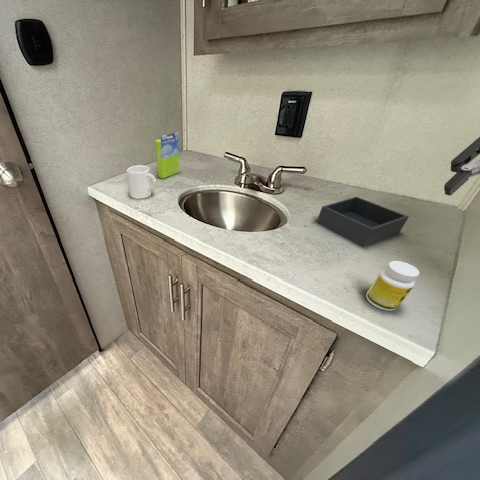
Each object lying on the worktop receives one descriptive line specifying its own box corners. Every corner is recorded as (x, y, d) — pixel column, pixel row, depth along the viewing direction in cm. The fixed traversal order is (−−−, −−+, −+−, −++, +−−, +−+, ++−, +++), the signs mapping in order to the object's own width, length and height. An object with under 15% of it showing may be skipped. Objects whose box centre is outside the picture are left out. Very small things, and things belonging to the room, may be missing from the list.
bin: (349, 211, 73) (356, 196, 70) (398, 233, 63) (409, 216, 60) (316, 222, 69) (322, 206, 66) (363, 247, 59) (372, 229, 56)
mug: (149, 203, 85) (147, 176, 80) (125, 195, 92) (122, 170, 86) (163, 195, 90) (162, 169, 85) (140, 188, 97) (137, 163, 91)
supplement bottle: (397, 315, 43) (424, 282, 38) (364, 304, 46) (385, 270, 41) (396, 298, 46) (421, 265, 41) (366, 288, 49) (386, 255, 44)
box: (173, 170, 112) (172, 130, 102) (180, 172, 109) (179, 131, 99) (156, 177, 106) (153, 135, 96) (162, 179, 103) (160, 136, 94)
